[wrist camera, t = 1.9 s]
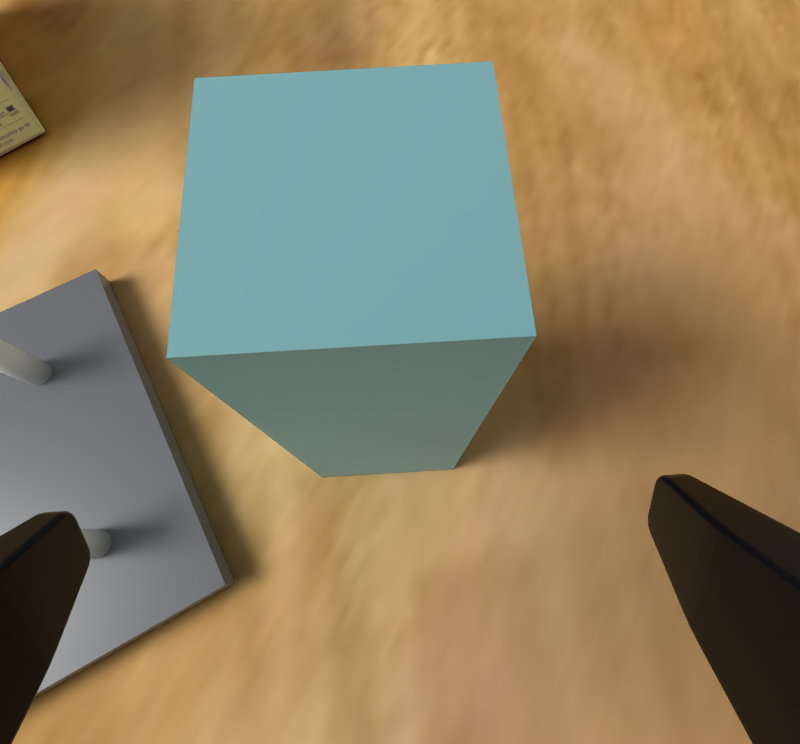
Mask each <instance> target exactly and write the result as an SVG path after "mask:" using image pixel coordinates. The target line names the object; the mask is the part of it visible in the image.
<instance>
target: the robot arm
mask: <svg viewBox="0 0 800 744" xmlns="http://www.w3.org/2000/svg"><path fill="white" fill-rule="evenodd" d="M648 526H649V530H650V533H651V535H652V538H653V540H654V543H655V545H656V547H657V550H658V552H659V555H660V557H661V559H662V562H663V564H664V567H665V569H666V571H667V574H668V576H669V579H670V581H671V583H672V586H673V588H674V591H675V593H676V595H677V598H678V600H679V603H680V605H681V607H682V610H683V612H684V614H685V617H686V619H687V621H688V623H689V625H690V628H691V629H692V631H693V633H694V635H695V637H696V639H697V641H698V643H699V645H700V647H701V649H702V651H703V652H704V654H705V656H706V658H707V660H708V662H709V664H710V665H711V667H712V669H713V671H714V673H715V675H716V677H717V678H718V680H719V682H720V684H721V686H722V688H723V690H724V691H725V693H726V695H727V697H728V699H729V701H730V703H731V704H732V706H733V708H734V710H735V712H736V714H737V716H738V717H739V719H740V721H741V723H742V725H743V727H744V729H745V730H746V732H747V734H748V736H749V738H750V740H751V741H752V743H753V744H800V533H799V532H797V531H795V530H793V529H791V528H790V527H788V526H786V525H784V524H782V523H780V522H778V521H776V520H774V519H772V518H770V517H769V516H767V515H765V514H763V513H761V512H759V511H757V510H755V509H753V508H751V507H749V506H748V505H746V504H744V503H742V502H740V501H738V500H736V499H734V498H732V497H730V496H728V495H727V494H725V493H723V492H721V491H719V490H717V489H715V488H713V487H711V486H709V485H707V484H705V483H704V482H702V481H700V480H698V479H696V478H694V477H692V476H690V475H687V474H676V475H663V476H661V477H659V478H658V479H657V481H656V483H655V487H654V491H653V496H652V500H651V505H650V509H649V514H648ZM89 564H90V549H89V547H88V544H87V542H86V540H85V538H84V535H83V533H82V531H81V529H80V526H79V524H78V522H77V520H76V518H75V516H74V515H73V514H72V513H70V512H67V511H56V512H44V513H40V514H37V515H35V516H33V517H32V518H30V519H28V520H27V521H25V522H23V523H21V524H20V525H18V526H16V527H15V528H13V529H11V530H9V531H8V532H6V533H4V534H3V535H1V536H0V744H12V742H13V740H14V738H15V736H16V734H17V732H18V730H19V728H20V726H21V724H22V722H23V720H24V718H25V716H26V714H27V712H28V710H29V708H30V706H31V704H32V702H33V700H34V698H35V696H36V694H37V692H38V690H39V688H40V686H41V684H42V681H43V679H44V677H45V675H46V673H47V671H48V669H49V667H50V664H51V662H52V659H53V657H54V655H55V652H56V650H57V648H58V645H59V642H60V640H61V637H62V635H63V632H64V629H65V627H66V624H67V622H68V619H69V617H70V614H71V611H72V609H73V606H74V604H75V601H76V598H77V596H78V593H79V591H80V588H81V586H82V583H83V580H84V578H85V575H86V573H87V570H88V567H89Z"/></svg>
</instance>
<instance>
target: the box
mask: <svg viewBox="0 0 800 744" xmlns="http://www.w3.org/2000/svg"><path fill="white" fill-rule="evenodd" d="M43 133H45V129H44V128H43V126H42V125H41V123H40V122H39V120H38V119H37V117H36V116H35V114H34V113H33V111H32V110H31V108H30V107H29V105H28V104H27V102H26V101H25V99H24V98H23V96H22V94H21V93H20V91H19V90H18V88H17V87H16V85H15V84H14V82H13V81H12V79H11V78H10V76H9V74H8V73H7V71H6V70H5V68H4V66H3V65H2V63H1V62H0V156H2V155H4V154H6V153H8V152H10V151H11V150H13V149H15V148H17V147H19V146H20V145H22V144H24V143H26V142H28V141H30V140H32V139H34V138H36V137H37V136H39V135H41V134H43Z"/></svg>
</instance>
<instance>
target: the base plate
mask: <svg viewBox="0 0 800 744" xmlns="http://www.w3.org/2000/svg"><path fill="white" fill-rule="evenodd" d="M56 511H67V512H70V513H72V514H73V515H74V516H75V518H76V520H77V522H78V524H79V526H80V529H81V531H82V533H83V535H84V538H85V540H86V542H87V544H88V547H89V549H90V564H89V567H88V570H87V573H86V575H85V578H84V580H83V583H82V586H81V588H80V591H79V593H78V596H77V598H76V601H75V604H74V606H73V609H72V611H71V614H70V617H69V619H68V622H67V624H66V627H65V629H64V632H63V635H62V637H61V640H60V642H59V645H58V648H57V650H56V652H55V655H54V657H53V659H52V662H51V664H50V667H49V669H48V671H47V673H46V675H45V677H44V679H43V681H42V684H41V686H40V688H39V690H38V692H37V694H36V696H35V697H37V696H39V695H40V694H42V693H44V692H46V691H47V690H49V689H51V688H52V687H54V686H56V685H58V684H59V683H61V682H63V681H65V680H66V679H68V678H70V677H72V676H73V675H75V674H77V673H79V672H80V671H82V670H84V669H86V668H87V667H89V666H91V665H92V664H94V663H96V662H98V661H99V660H101V659H103V658H105V657H106V656H108V655H110V654H112V653H113V652H115V651H117V650H119V649H120V648H122V647H124V646H125V645H127V644H129V643H131V642H132V641H134V640H136V639H138V638H139V637H141V636H143V635H145V634H146V633H148V632H150V631H152V630H153V629H155V628H157V627H159V626H160V625H162V624H164V623H165V622H167V621H169V620H171V619H172V618H174V617H176V616H178V615H179V614H181V613H183V612H185V611H186V610H188V609H190V608H192V607H193V606H195V605H197V604H199V603H200V602H202V601H204V600H205V599H207V598H209V597H211V596H212V595H214V594H216V593H218V592H219V591H221V590H223V589H225V588H226V587H228V586H230V585H232V584H233V583H235V581H234V579H233V577H232V574H231V572H230V569H229V567H228V565H227V562H226V560H225V557H224V555H223V553H222V550H221V548H220V545H219V543H218V541H217V538H216V536H215V533H214V531H213V529H212V526H211V524H210V521H209V519H208V517H207V514H206V512H205V509H204V507H203V505H202V502H201V500H200V497H199V495H198V493H197V490H196V488H195V485H194V483H193V481H192V478H191V476H190V473H189V471H188V469H187V466H186V464H185V461H184V459H183V457H182V454H181V452H180V450H179V447H178V445H177V442H176V440H175V438H174V435H173V433H172V430H171V428H170V426H169V423H168V421H167V418H166V416H165V414H164V411H163V409H162V406H161V404H160V402H159V399H158V397H157V394H156V392H155V390H154V387H153V385H152V382H151V380H150V378H149V375H148V373H147V370H146V368H145V366H144V363H143V361H142V358H141V356H140V354H139V351H138V349H137V346H136V344H135V342H134V339H133V337H132V334H131V332H130V330H129V327H128V325H127V322H126V320H125V318H124V315H123V313H122V310H121V308H120V306H119V303H118V301H117V299H116V296H115V294H114V291H113V289H112V287H111V284H110V282H109V280H107V279H106V278H105V277H104V276H103V275H102V274H101V273H99V272H98V271H97V270H96V269H95V270H93V271H91V272H88V273H86V274H84V275H82V276H80V277H77V278H75V279H73V280H71V281H69V282H66V283H64V284H62V285H60V286H58V287H55V288H53V289H51V290H49V291H47V292H44V293H42V294H40V295H38V296H36V297H33V298H31V299H29V300H27V301H25V302H22V303H20V304H18V305H16V306H13V307H11V308H9V309H7V310H5V311H2V312H0V536H1V535H3V534H4V533H6V532H8V531H9V530H11V529H13V528H15V527H16V526H18V525H20V524H21V523H23V522H25V521H27V520H28V519H30V518H32V517H33V516H35V515H37V514H40V513H44V512H56Z"/></svg>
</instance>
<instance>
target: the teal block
mask: <svg viewBox="0 0 800 744" xmlns="http://www.w3.org/2000/svg"><path fill="white" fill-rule="evenodd" d="M536 336H537V335H536V329H535V323H534V316H533V310H532V304H531V298H530V291H529V285H528V279H527V273H526V266H525V260H524V254H523V247H522V241H521V235H520V229H519V222H518V216H517V210H516V204H515V197H514V191H513V185H512V179H511V172H510V166H509V160H508V154H507V147H506V141H505V135H504V129H503V122H502V116H501V110H500V103H499V97H498V91H497V85H496V78H495V72H494V66H493V61H492V62H474V63H456V64H438V65H420V66H402V67H384V68H366V69H348V70H330V71H313V72H295V73H277V74H259V75H241V76H223V77H205V78H194V88H193V98H192V108H191V117H190V127H189V137H188V147H187V157H186V167H185V177H184V187H183V197H182V207H181V217H180V227H179V237H178V247H177V257H176V267H175V277H174V287H173V297H172V306H171V316H170V326H169V336H168V346H167V356H166V358H167V359H168V360H170V361H171V362H172V363H174V364H175V365H176V366H178V367H179V368H180V369H182V370H183V371H184V372H185V373H187V374H188V375H189V376H191V377H192V378H193V379H195V380H196V381H197V382H199V383H200V384H201V385H202V386H204V387H205V388H206V389H208V390H209V391H210V392H212V393H213V394H214V395H215V396H217V397H218V398H219V399H221V400H222V401H223V402H225V403H226V404H227V405H229V406H230V407H231V408H232V409H234V410H235V411H236V412H238V413H239V414H240V415H242V416H243V417H244V418H246V419H247V420H248V421H249V422H251V423H252V424H253V425H255V426H256V427H257V428H259V429H260V430H261V431H262V432H264V433H265V434H266V435H268V436H269V437H270V438H272V439H273V440H274V441H276V442H277V443H278V444H279V445H281V446H282V447H283V448H285V449H286V450H287V451H289V452H290V453H291V454H293V455H294V456H295V457H296V458H298V459H299V460H300V461H302V462H303V463H304V464H306V465H307V466H308V467H310V468H311V469H312V470H313V471H315V472H316V473H317V474H319V475H320V476H321V477H335V476H351V475H368V474H384V473H401V472H417V471H434V470H450V469H453V468H454V467H455V465H456V464H457V462H458V460H459V459H460V457H461V456H462V454H463V452H464V451H465V449H466V448H467V446H468V445H469V443H470V441H471V440H472V438H473V437H474V435H475V433H476V432H477V430H478V429H479V427H480V425H481V424H482V422H483V421H484V419H485V417H486V416H487V414H488V413H489V411H490V409H491V408H492V406H493V405H494V403H495V401H496V400H497V398H498V397H499V395H500V394H501V392H502V390H503V389H504V387H505V386H506V384H507V382H508V381H509V379H510V378H511V376H512V374H513V373H514V371H515V370H516V368H517V366H518V365H519V363H520V362H521V360H522V358H523V357H524V355H525V354H526V352H527V351H528V349H529V347H530V346H531V344H532V343H533V341H534V339H535V338H536Z"/></svg>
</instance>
